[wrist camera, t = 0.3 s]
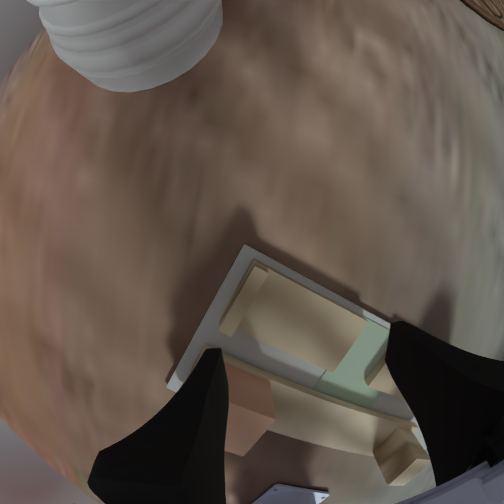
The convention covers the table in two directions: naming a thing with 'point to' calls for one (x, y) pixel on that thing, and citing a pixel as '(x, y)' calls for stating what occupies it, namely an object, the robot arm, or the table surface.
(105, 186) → the table surface
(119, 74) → the honey pot
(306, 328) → the broken strip
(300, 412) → the beige wooden beam
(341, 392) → the mat
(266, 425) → the cube
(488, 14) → the trivet
